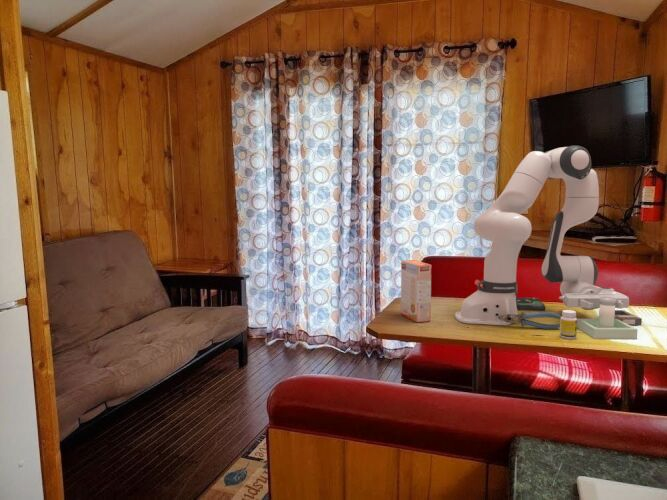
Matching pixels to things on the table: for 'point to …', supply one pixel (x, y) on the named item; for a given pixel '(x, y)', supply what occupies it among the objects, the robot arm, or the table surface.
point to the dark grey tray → (627, 317)
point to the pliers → (522, 318)
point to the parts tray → (607, 329)
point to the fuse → (607, 312)
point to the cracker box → (416, 290)
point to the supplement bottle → (568, 324)
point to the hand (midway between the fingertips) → (605, 306)
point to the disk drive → (530, 304)
